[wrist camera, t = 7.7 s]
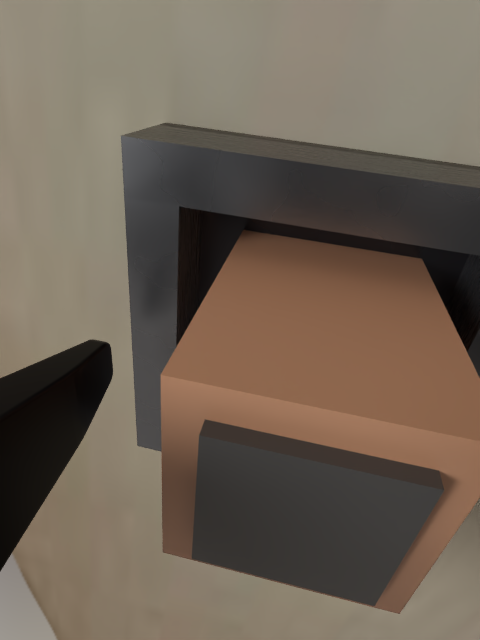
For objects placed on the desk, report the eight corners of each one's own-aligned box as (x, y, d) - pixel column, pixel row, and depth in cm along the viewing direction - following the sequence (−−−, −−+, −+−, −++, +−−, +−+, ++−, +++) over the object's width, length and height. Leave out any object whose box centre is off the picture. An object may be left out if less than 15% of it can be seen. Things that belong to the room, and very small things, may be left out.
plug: (421, 258, 10) (523, 469, 5) (372, 393, 12) (402, 633, 7) (243, 230, 10) (151, 389, 5) (229, 365, 13) (157, 568, 8)
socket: (553, 177, 9) (620, 208, 7) (416, 447, 14) (431, 515, 12) (165, 122, 10) (121, 136, 8) (165, 393, 15) (137, 445, 13)
